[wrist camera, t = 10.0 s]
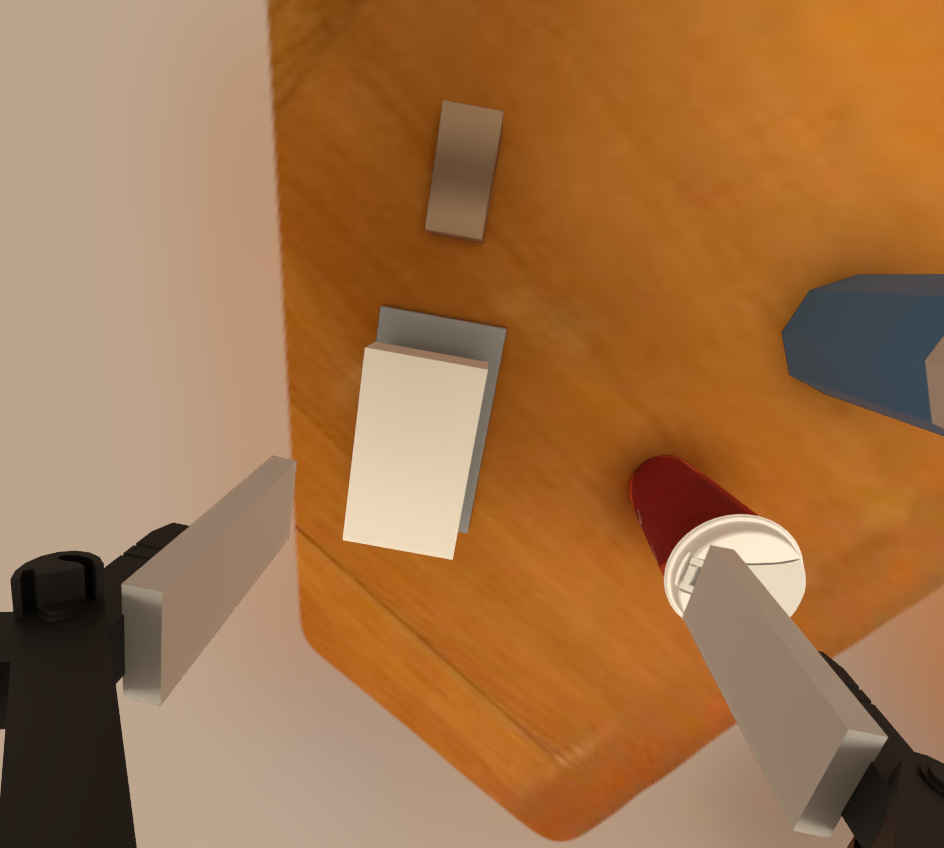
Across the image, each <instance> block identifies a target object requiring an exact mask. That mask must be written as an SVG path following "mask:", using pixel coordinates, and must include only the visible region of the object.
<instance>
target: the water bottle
mask: <svg viewBox="0 0 944 848" xmlns="http://www.w3.org/2000/svg"><path fill="white" fill-rule="evenodd" d="M782 337H783V342H784V348H785V353H786V359H787V364H788V370H789V375H790V376H792V377H794V378H796V379H798V380H800V381H802V382H804V383H806V384H807V385H809V386H811V387H813V388H815V389H817V390H819V391H821V392H823V393H825V394H827V395H829V396H832V397H835V398H838V399H841V400H843V401H846V402H849V403H852V404H855V405H857V406H860V407H863V408H866V409H869V410H871V411H874V412H877V413H880V414H883V415H885V416H888V417H891V418H894V419H897V420H900V421H902V422H905V423H908V424H911V425H914V426H916V427H919V428H922V429H925V430H928V431H930V432H933V433H936V434H939V435H942V436H944V274H898V275H856V276H853V277H850V278H847V279H843V280H840V281H837V282H834V283H831V284H828V285H825V286H822V287H819V288H816V289H813V290H810V291H809V292H808V294H807V295H806V297H805V298H804V300H803V301H802V303H801V304H800V306H799V307H798V309H797V310H796V312H795V313H794V315H793V316H792V318H791V319H790V321H789V322H788V324H787V325H786V327H785V328H784V330H783V331H782Z"/></svg>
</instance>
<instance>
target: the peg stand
mask: <svg viewBox="0 0 944 848" xmlns="http://www.w3.org/2000/svg"><path fill="white" fill-rule="evenodd" d="M506 330H507V329H506V328H504V327H499V326H493V325H488V324H482V323H477V322H471V321H466V320H460V319H455V318H449V317H444V316H438V315H433V314H428V313H422V312H417V311H411V310H406V309H400V308H395V307H389V306H380V314H379V323H378V331H377V339H376V342H380V343H386V344H391V345H397V346H402V347H408V348H413V349H419V350H424V351H430V352H435V353H441V354H446V355H451V356H457V357H462V358H468V359H473V360H479V361H484V362H489V364H488V372H487V378H486V383H485V388H484V394H483V399H482V404H481V410H480V415H479V421H478V426H477V431H476V437H475V442H474V447H473V453H472V458H471V463H470V469H469V474H468V480H467V485H466V490H465V496H464V501H463V506H462V512H461V517H460V522H459V528H458V532H463V533H468V527H469V522H470V517H471V512H472V507H473V501H474V496H475V491H476V486H477V481H478V475H479V470H480V465H481V460H482V455H483V450H484V444H485V439H486V434H487V429H488V424H489V418H490V413H491V408H492V403H493V398H494V392H495V387H496V382H497V377H498V372H499V367H500V361H501V356H502V351H503V346H504V341H505V335H506Z"/></svg>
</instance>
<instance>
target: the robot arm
mask: <svg viewBox="0 0 944 848" xmlns="http://www.w3.org/2000/svg"><path fill="white" fill-rule="evenodd" d="M296 464H297V461H296V460H291V459H285V458H281V457H276V456H272V457H271V458H269V459H268V460H267V461H266V462H265V463H263V464H262V465H261V466H260V467H259V468H257V469H256V470H255V471H254V472H253V473H252V474H250V475H249V476H248V477H247V478H246V479H245V480H243V481H242V482H241V483H240V484H239V485H237V486H236V487H235V488H234V489H233V490H232V491H230V492H229V493H228V494H227V495H226V496H225V497H223V498H222V499H221V500H220V501H219V502H217V503H216V504H215V505H214V506H213V507H212V508H210V509H209V510H208V511H207V512H206V513H204V514H203V515H202V516H201V517H200V518H199V519H197V520H196V521H195V522H194V523H193V524H191V525H190V526H187V525H182V524H176V523H171V524H169V525H166V526H164V527H161V528H159V529H157V530H154V531H152V532H151V533H149V534H148V535H147V536H145V537H144V538H143V539H141V540H140V541H139V542H137V543H136V546H134V545H133V546H132V547H131V548H130V549H128V550H127V551H126V552H124V554H123V556H119V557H118V558H117V559H115V560H114V561H113V562H111V563H110V564H109V565H108V566H106V567H105V568H104V563H103V562H102V561H101V559H100V557H98V556H96V555H94V554H92V553H89V552H81V551H66V552H56V553H52V554H48V555H44V556H40V557H38V558H36V559H34V560H31V561H29V562H26V563H25V564H24V565H22V566H21V567H20V568H18V569H17V570H16V571H15V572H14V574H13V576H12V578H11V591H12V601H13V612H0V729H5V743H4V755H3V768H2V781H1V794H0V848H137V847H136V838H135V831H134V823H133V815H132V808H131V800H130V792H129V784H128V776H127V769H126V761H125V753H124V746H123V738H122V730H121V723H120V715H119V707H118V699H117V691H116V683H117V682H118V681H119V680H120V679H121V678H122V677H123V698H124V699H129V700H134V701H139V702H144V703H149V704H154V705H159V706H161V705H162V703H163V702H164V701H165V699H166V698H167V697H168V695H169V694H170V693H171V692H172V690H173V689H174V688H175V686H176V685H177V684H178V682H179V681H180V680H181V679H182V677H183V676H184V675H185V673H186V672H187V671H188V669H189V668H190V667H191V665H192V664H193V663H194V662H195V660H196V659H197V657H198V656H199V655H200V654H201V652H202V651H203V650H204V648H205V647H206V646H207V645H208V643H209V642H210V641H211V639H212V638H213V637H214V635H215V634H216V633H217V631H218V630H219V629H220V628H221V626H222V625H223V624H224V622H225V621H226V620H227V618H228V617H229V616H230V615H231V613H232V612H233V610H234V609H235V608H236V607H237V605H238V604H239V603H240V601H241V600H242V599H243V597H244V596H245V595H246V594H247V592H248V591H249V590H250V588H251V587H252V586H253V584H254V583H255V582H256V581H257V579H258V578H259V577H260V575H261V574H262V573H263V571H264V570H265V569H266V567H267V566H268V565H269V564H270V562H271V561H272V560H273V558H274V557H275V556H276V554H277V553H278V552H279V550H280V549H281V548H282V547H283V545H284V544H285V543H286V541H287V540H288V538H289V534H290V524H291V513H292V504H293V494H294V484H295V474H296ZM682 618H683V620H684V621H685V623H686V625H687V627H688V629H689V631H690V633H691V635H692V637H693V639H694V641H695V643H696V645H697V647H698V649H699V650H700V652H701V654H702V656H703V658H704V660H705V662H706V664H707V666H708V668H709V670H710V672H711V674H712V676H713V678H714V679H715V681H716V683H717V685H718V687H719V689H720V691H721V693H722V695H723V697H724V699H725V701H726V703H727V705H728V707H729V708H730V710H731V712H732V714H733V716H734V718H735V720H736V722H737V724H738V726H739V728H740V730H741V732H742V734H743V736H744V737H745V739H746V741H747V743H748V745H749V747H750V749H751V751H752V753H753V755H754V757H755V759H756V761H757V763H758V764H759V766H760V768H761V770H762V772H763V774H764V776H765V778H766V780H767V782H768V784H769V786H770V788H771V790H772V792H773V794H774V795H775V797H776V799H777V801H778V803H779V805H780V807H781V809H782V811H783V813H784V815H785V817H786V819H787V821H788V822H789V824H790V826H791V828H792V830H793V831H798V832H803V833H808V834H813V835H818V836H823V837H828V838H829V837H830V835H831V833H832V831H833V830H834V828H835V827H836V825H837V823H838V821H839V820H840V818H841V816H842V817H843V818H844V820H845V822H846V823H847V825H848V826H849V828H850V830H851V831H852V833H853V835H854V837H853V839H852V840H851V842H850V844H849V845H848V847H847V848H944V764H943V763H941V762H939V761H937V760H935V759H933V758H931V757H929V756H927V755H923V754H920V753H916V752H914V751H913V750H912V749H911V748H910V746H909V745H908V744H907V743H906V742H905V741H904V739H903V738H902V737H901V736H900V735H899V733H898V732H897V731H896V730H895V729H894V728H893V726H892V725H891V724H890V723H889V722H888V720H887V719H886V718H885V717H884V716H883V715H882V713H881V712H880V711H879V710H878V709H877V707H876V706H875V705H872V704H871V700H870V699H869V698H868V697H867V696H866V695H865V693H864V692H863V691H862V690H859V686H858V685H857V684H856V683H855V682H854V680H853V679H852V678H851V677H850V676H849V674H848V673H847V672H846V671H845V670H844V669H843V668H842V667H841V666H839V665H838V664H837V663H836V662H835V661H833V660H832V659H831V658H830V657H828V656H827V655H826V654H825V653H823V652H820V651H817V650H816V649H815V647H814V646H813V645H812V644H811V642H810V641H809V640H808V639H807V638H806V636H805V635H804V634H803V633H802V631H801V630H800V629H799V628H798V627H797V625H796V624H795V623H794V622H793V621H792V619H791V618H790V617H789V616H788V614H787V613H786V612H785V611H784V610H783V608H782V607H781V606H780V605H779V603H778V602H777V601H776V600H775V599H774V597H773V596H772V595H771V594H770V592H769V591H768V590H767V589H766V588H765V586H764V585H763V584H762V583H761V582H760V580H759V579H758V578H757V577H756V575H755V574H754V573H753V572H752V571H751V569H750V568H749V567H748V566H747V564H746V563H745V562H744V561H743V560H742V558H741V557H740V556H739V555H738V554H737V552H736V551H735V550H734V549H729V548H724V547H719V546H714V545H710V547H709V550H708V552H707V555H706V557H705V560H704V563H703V565H702V568H701V570H700V573H699V575H698V578H697V581H696V583H695V586H694V588H693V591H692V593H691V596H690V599H689V601H688V604H687V606H686V609H685V611H684V614H683V617H682Z"/></svg>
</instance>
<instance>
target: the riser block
mask: <svg viewBox="0 0 944 848" xmlns="http://www.w3.org/2000/svg"><path fill="white" fill-rule="evenodd" d="M503 112H504V111H500V110H494V109H489V108H483V107H478V106H473V105H467V104H462V103H456V102H451V101H446V100H443V104H442V111H441V118H440V125H439V133H438V140H437V147H436V154H435V161H434V168H433V175H432V182H431V190H430V197H429V204H428V211H427V218H426V225H425V230H427V231H428V232H430V233H431V234H435V235H441V236H446V237H452V238H457V239H463V240H468V241H474V242H479V243H483V240H484V234H485V229H486V223H487V217H488V211H489V205H490V199H491V194H492V188H493V182H494V176H495V170H496V164H497V159H498V153H499V147H500V141H501V135H502V130H503Z"/></svg>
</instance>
